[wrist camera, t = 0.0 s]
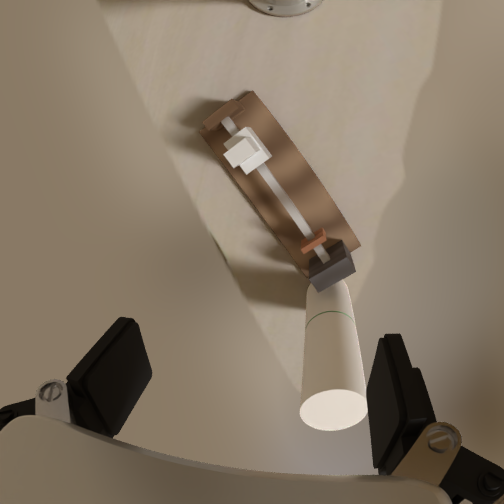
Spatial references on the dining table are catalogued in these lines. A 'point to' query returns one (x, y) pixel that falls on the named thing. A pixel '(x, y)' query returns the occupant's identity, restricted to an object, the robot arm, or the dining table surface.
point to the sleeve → (246, 150)
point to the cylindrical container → (331, 362)
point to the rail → (287, 193)
